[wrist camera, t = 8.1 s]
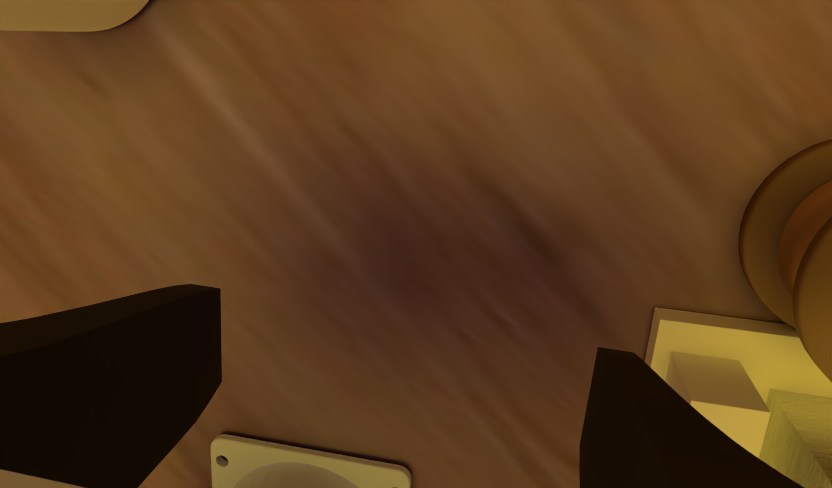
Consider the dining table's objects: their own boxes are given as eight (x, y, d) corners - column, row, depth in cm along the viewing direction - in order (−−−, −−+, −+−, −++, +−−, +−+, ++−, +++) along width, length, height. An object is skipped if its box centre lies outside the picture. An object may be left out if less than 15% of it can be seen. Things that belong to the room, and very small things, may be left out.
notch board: (922, 565, 22) (1000, 674, 18) (616, 510, 23) (629, 600, 20) (1003, 351, 19) (1114, 426, 15) (654, 307, 21) (678, 365, 17)
